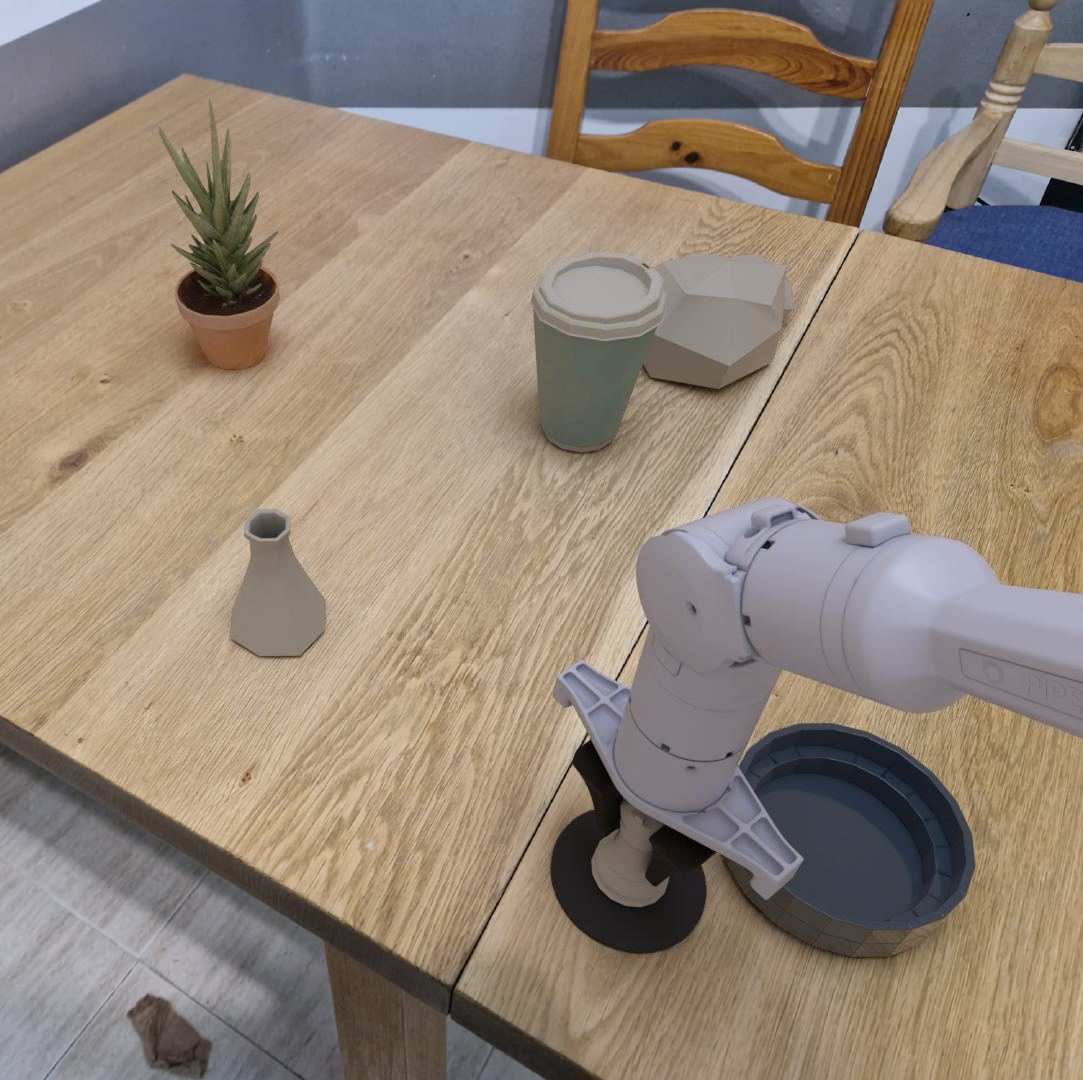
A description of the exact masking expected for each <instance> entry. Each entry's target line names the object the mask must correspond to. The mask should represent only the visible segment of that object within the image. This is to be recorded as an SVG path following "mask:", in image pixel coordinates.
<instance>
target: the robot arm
mask: <svg viewBox="0 0 1083 1080" xmlns="http://www.w3.org/2000/svg"><path fill="white" fill-rule="evenodd" d="M636 558H637V559H636V566H635V579H636V587H637V593H638V597H639V601H640V605H641V607H642V611H643V613H644V616H645V618H646V620H647V622H648V624H649V626H648V629H647V632H646V636H645V639H644V643H643V646H642V650H641V654H640V656H639V660H638V663H637V667H636V670H635V673H634V676H633V680H632V684H631V686H628V685H626V684H623V683H622V682H619V681H617V680H615V679H614V678H611V677H609V676H608V675H606V674H604V673H602V672H601V671H599V670H598V669H596V668H595V667H593V666H592V665H591V664H589V663H588V662H587V661H586V660H585V659H580V660H579V661H578V662H575V663H574V664H572V665H571V666H569V667H568V668H566V669H565V670H563V671H562V672H561V673H559V674H557V675H556V679H555V683H554V688H553V693H552V698H553V699H554V700H555V701H556V702H558V704H560V705H561V707H564V708H570V707H572V706H573V708H574V710H575V712H576V714H577V716H578V717H579V719H580V722H581V723H582V725H583V727H584V729H585V731H586V733H587V735H588V738H589V740H587V741H586V742H584V743H583V744H582V745H580V746H579V747H578V748H577V749H576V750H575V752H574V754H573V758H572V763H571V764H572V766H573V768H574V769H575V770H576V771H577V772H578V774H579V775H580V776H581V778H582V780H583V782H584V784H585V786H586V788H587V791H588V793H589V795H590V799H591V803H592V806H593V810H594V811H595V816H596V822H597V827H598V830H599V831H600V832H601V833H602V834H603V835H604V836H605V837H607V836H609V835H610V834H611V833H612V832H614V831H615V830H616V829H618V828H619V827H620V819H621V810H620V805H621V803H622V800H623V798H625V799H626V800H627V801H628V802H629V803H630V804H631V805H633V806H634V807H635V808H637V809H638V810H640V811H642V812H643V813H645V814H647V815H649V816H650V817H652V818H654V819H656V820H658V821H660V822H662V823H664V824H665V825H664V826H662V827H661V828H660V829H659V830H657V831H656V832H655V833H653V834H652V835H651V836H650V837H649V841H650V843H651V845H652V859H651V862H650V864H649V866H648V868H647V870H646V872H645V878H646V879H647V880H648V882H649V883H650V884H651V885H652V886H654V887H657V886H658V885H659V884H660V883H662V882H663V881H664V880H665V879H666V878H668V877H669V876H670V875H671V874H673V873H675V872H679V873H681V874H687V873H689V872H691V871H693V870H695V869H697V868H698V867H700V866H701V865H703V864H705V863H706V862H707V861H709V860H710V859H711V858H712V857H713V856H715V855H716V853H718V854H719V855H722V856H723V857H724V858H725V857H727V858H729V859H731V860H733V861H735V862H737V863H738V864H740V865H742V866H743V867H745V868H747V869H748V870H750V871H751V872H752V873H753V877H752V879H751V881H750V885H751V886H752V888H753V889H754V890H755V891H756V892H757V893H758V894H760V895H761V896H762V897H763V898H764V899H765V900H768V899H769V898H770V897H771V896H772V895H773V894H775V893H776V892H777V891H778V890H779V889H780V888H782V887H783V886H784V885H785V884H786V883H787V882H788V881H789V880H790V879H792V877H793V876H794V874H795V873H796V871H797V870H798V868H799V866H800V865H801V863H802V862H803V860H804V858H803V857H802V856H801V855H800V854H799V853H798V852H797V851H796V850H795V849H794V848H793V847H792V846H791V845H790V844H789V843H788V842H787V841H786V840H785V838H784V837H783V836H782V835H781V833H780V832H779V830H778V829H777V827H776V826H775V824H774V823H773V821H772V820H771V818H770V817H769V815H768V813H767V812H766V810H765V809H764V807H763V805H762V804H761V802H760V801H759V799H758V797H757V796H756V794H755V793H754V791H753V789H752V788H751V786H750V785H749V783H748V781H747V780H746V778H745V777H744V775H743V773H742V772H741V770H740V769H739V764H740V762H741V760H742V757H743V754H744V752H745V751H746V748H747V746H748V744H749V741H750V740H751V737H752V735H753V733H754V731H755V729H756V726H757V724H758V722H759V720H760V718H761V716H762V714H763V712H764V710H765V708H766V706H767V703H768V701H769V699H770V697H771V695H772V693H773V691H774V688H775V687H776V684H777V683H778V680H779V678H780V676H781V673H782V672H783V671H786V672H788V673H792V674H795V675H798V676H800V677H804V678H806V679H809V680H812V681H815V682H818V683H820V684H823V685H827V686H829V687H833V688H834V689H838V690H841V691H844V692H847V693H849V694H852V695H855V696H859V697H860V698H863V699H866V700H869V701H872V702H875V703H877V704H881V705H884V706H885V707H886V706H887V707H890V708H892V709H894V710H898V711H901V712H906V713H909V714H928V713H929V714H930V713H933V712H938V711H942V710H943V709H946V708H949V707H951V706H953V705H955V704H956V703H958V702H959V701H961V700H963V699H964V698H965V697H966V696H968V695H969V696H972V697H974V698H976V699H978V700H981V701H984V702H987V703H989V704H991V705H994V706H997V707H998V708H999V707H1000V708H1002V709H1005V710H1007V711H1010V712H1012V713H1014V714H1017V715H1019V716H1023V717H1025V718H1027V719H1030V720H1033V721H1036V722H1038V723H1041V724H1043V725H1045V726H1047V727H1051V728H1053V729H1056V730H1059V731H1061V732H1064V733H1067V734H1069V735H1071V736H1074V737H1076V738H1079V739H1082V740H1083V593H1076V592H1069V591H1068V592H1067V591H1058V590H1052V589H1043V588H1035V587H1027V586H1018V585H1010V584H1001V582H1000V580H999V578H998V576H997V574H996V573H995V571H994V569H993V568H992V567H991V565H990V564H989V563H988V562H987V560H986V559H985V558H984V557H983V556H982V555H981V553H979V552H978V551H977V550H976V549H974V548H973V547H971V546H969V545H968V544H966V543H965V542H962V541H960V540H956V539H952V538H948V537H943V536H936V535H926V534H922V533H921V534H920V533H913V532H911V525H910V519H909V517H908V516H907V515H905V514H899V513H891V512H884V511H878V512H875V513H872V514H869V515H866V516H864V517H861V518H858V519H855V520H852V521H850V522H848V523H844V522H843V523H842V522H837V521H830V520H829V521H828V520H823V519H822V518H820V517H819V515H818V514H817V513H816V512H814V511H812V510H811V509H809V508H807V507H805V506H803V505H802V504H798V503H793V502H792V501H789V500H787V499H784V498H781V497H777V496H766V497H761V498H758V499H754V500H751V501H749V502H746V503H744V504H740V505H737V506H734V507H732V508H728V509H725V510H722V511H719V512H716V513H714V514H710V515H707V516H705V517H702V518H699V519H695V520H694V521H690V522H687V523H684V524H681V525H677V526H675V527H673V528H669V529H667V530H664V531H663V532H662V533H660V535H655V536H651V537H649V538H648V539H647V540H646V541H645V542H644V543H643V544H642V546H641V548H640V550H639V552H638V555H637V557H636Z"/></svg>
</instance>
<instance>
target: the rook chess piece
mask: <svg viewBox="0 0 1083 1080" xmlns="http://www.w3.org/2000/svg"><path fill="white" fill-rule="evenodd" d="M620 810H621V819H620V829H618V830H615V831H614V832H612V833H611V834H610V835H609V836H607V837H604V838H603V839H602V840H601V841H600V842H599V844H598V847H597V848H596V850H595V853H594V855H593V858H592V860H591V861H592V874H593V876H594V878H595V881H596V883H597V885H598V887H599V888H600V889H601V890H602V891H603V892H604V893H605V894H606V895H607V896H608V897H609V898H610V899H612V900H614V901H616V902H618V903H620V904H623V905H625V906H634V907H643V906H646V905H649V904H652V903H655V902H656V901H657V900H658V899H659V898H660V897H661V896H662V895H663V894H664V893H665V890H666V887H667V884H668V881H669V877H668V878H666V879H665V880H664V881H663V882H662V883H660V884H659V885H658V886H657V887H654V886H652V885H651V884H650V883H649V882H648V880H647V879H646V878H645V872H646V870H647V868H648V866H649V864H650V862H651V859H652V845H651V843H650V841H649V837H650V836H651V835H652V834H653V833H655V832H656V831H657V830H659V829H660V828H661V827H662V826H664V825H665V824H664V823H662V822H660V821H658V820H656V819H654V818H652V817H650V816H649V815H647V814H645V813H643V812H642V811H640V810H638V809H637V808H635V807H634V806H633V805H631V804H630V803H629V802H628V801H627V800H626V799H625V798H623V800H622V803H621V805H620Z"/></svg>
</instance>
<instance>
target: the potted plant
mask: <svg viewBox="0 0 1083 1080" xmlns="http://www.w3.org/2000/svg"><path fill="white" fill-rule="evenodd" d="M208 113H209V128H210V142H211V145H210V146H211V164H212V177H211V171H210V166H209V163H208V161H207V160H205V163H206V179H207V187H208V191H207V189H206V188H205V186H204V184H203V182H202V180H201V178H200V176H199V174H198V172H197V171H196V168H195V167H194V166H193V164H192V162H191V160H190V158H189V156H188V154H187V153H186V151H185V148H184V147H183V146H181V147H180V150H181V154H182V158H181V156H180V154H179V153H178V152H177V151H176V149H175V148H174V146H173V145H172V143H171V142H170V141H169V139H168V138H167V136H166V134H165V133H164V131H163V129H162V128H161V127H160V126H159V125H158V124H157V125H156V126H157V130H158V134H159V137H160V139H161V141H162V143H163V145H164V147H165V150H166V152H167V153H168V155H169V157H170V158H171V160H172V163H173V165H174V166H175V168H176V170H177V172H178V173H179V175H180V176H181V178H182V180H183V182H184V183H185V184H186V186H187V187H188V189H189V191H190V192H191V194H192V195H193V197H194V198H195V200H196V202H197V203H198V206H199V208H200V210H201V212H199V213H197V211H195V209H194V207H193V205H192V202H191V201H190V199H189V198H188V196H187V195H186V194H185V195H184V198H185V201H186V202H185V201H184V200H183V199H182V198H181V197H180V196H179V195H178V194H177V192H175V191H174V190H173V189H171V194H172V196H173V198H174V200H175V201H176V203H177V205H178V206H179V207H180V209H181V211H182V212H183V214H184V216H186V218H187V219H188V221H189V222H190V224H191V225H192V226H193V228H194V230H195V231H196V233H198V235H199V237H200V238H201V240H202V242H203V243H202V242H201V241H200V240H199V239H198V238H197V237H196V236H195V235H194V234H190V236H191V238H192V240H193V241H194V243H195V245H194V244H190V243H189V244H188V248H189V249H190V250H191V252H188V251H186V250H184V249H182V248H181V247H179V246H177V245H175V244H173V243H171V244H170V247H172V248H173V249H174V250H175V251H176V252H177V253H178V254H180V255H181V256H183V257H184V258H185V259H187V260H189V264H190V266H191V268H193V269H192V270H190V271H188V272H187V273H185V274H184V275H183V276H181V278H179V280H178V282H177V283H176V285H175V288H174V289H175V290H174V298H175V301H176V306H177V309H178V312H179V315H180V316H181V317H182V318H183V320H184V321H186V322H188V325H189V327H190V329H191V330H192V332H193V334H194V336H195V338H196V341H197V342H198V345H199V346H200V348H201V350H202V352H203V353H204V356H205V358H206V360H207V361H208V362H209V363H210V364H211V365H212V366H214V367H217V368H220V369H224V370H245V369H248V368H251V367H254V366H255V365H258V364H259V363H260V362H261V361H263V359H264V357H265V356H266V351H267V346H268V342H269V337H270V331H271V327H272V323H273V319H274V314H275V313H274V312H275V311H276V310H277V308H278V305H279V302H280V298H281V296H280V285H279V281H278V279H277V276H276V275H275V273H273V271H271V269H269V268H267V267H265V266H263V265H264V264H263V263H264V260H263V259H264V257H265V256H266V254H267V252H268V250H269V249H270V248H271V245H272V244H271V242H272V241H273V239H274V238H276V237H277V235H278V233H279V230H276V231H275V232H274V233H272V234H271V235H270V236H269V237H267V238H266V239H265V240H263V241H262V242H261V243H260V244H258V245H257V246H255V248H253V249H252V250H250V251H249V252H248V253H247V251H248V250H249V248H250V246H251V244H252V241H253V236H252V235H251V233H252V232H253V230H254V227H255V225H256V223H257V220H258V215H257V214H256V213H255V211H256V209H257V208H256V207H257V204H258V203H259V198H260V191H257V192H256V193H255V194H254V196H253V197H252V199H251V200H250V201H249V203H248V204H247V200H248V195H249V191H250V186H251V181H252V180H251V179H252V177H251V176H252V174H251V171H249V172H248V173H247V174H246V176H245V179H244V182H243V183H242V186H241V188H240V189H239V192H238V193H237V194H236V196H235V198H234V199H231V182H232V181H231V180H232V144H231V143H232V142H231V141H232V139H231V132H230V128H227V129H226V133H225V138H224V145H223V151H222V158H220V149H219V137H218V129H217V124H216V118H215V114H214V107H213V104H212V100H211V98H209V99H208ZM182 159H183V160H182ZM246 205H247V206H246ZM250 235H251V236H250ZM190 261H191V262H190Z"/></svg>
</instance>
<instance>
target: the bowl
mask: <svg viewBox="0 0 1083 1080" xmlns="http://www.w3.org/2000/svg"><path fill="white" fill-rule="evenodd" d="M742 757H743V758H741V760H740V762H739V764H738V767H739V769H740V770H741V772H742V773H743V775H744V777H745V778H746V780H747V781H748V783H749V785H750V786H751V788H752V789H753V791H754V793H755V794H756V796H757V797H758V799H759V801H760V802H761V804H762V805H763V807H764V809H765V810H766V812H767V813H768V815H769V817H770V818H771V820H772V821H773V823H774V824H775V826H776V827H777V829H778V830H779V832H780V833H781V835H782V836H783V837H784V838H785V840H786V841H787V842H788V843H789V844H790V845H791V846H792V847H793V848H794V849H795V850H796V851H797V852H798V853H799V854H800V855H801V856H802V857H803V858H804V860H803V862H802V863H801V865H800V866H799V868H798V870H797V871H796V873H795V874H794V876H793V877H792V879H790V880H789V881H788V882H787V883H786V884H785V885H784V886H783V887H782V888H780V889H779V890H778V891H777V892H776V893H775V894H773V895H772V896H771V897H770V898H769V899H768V900H765V899H764V898H763V897H762V896H761V895H760V894H758V893H757V892H756V891H755V890H754V889H753V888H752V886H751V885H750V881H751V879H752V877H753V873H752V872H751V871H750V870H748V869H747V868H745V867H743V866H742V865H740V864H738V863H737V862H735V861H733V860H731V859H729V858H727V857H725V856H724V858H725V863H726V864H727V865H726V866H727V867H728V869H729V871H730V872H731V874H732V875H733V877H734V878H735V880H736V882H737V884H738V885H739V887H740V889H741V890H742V891H743V894H744V895H745V896H746V897H747V898H748V900H750V901H751V902H752V903H753V904H754V906H756V907H757V908H758V909H759V910H760V911H761V912H762V913H763V914H764V915H765V916H766V917H767V918H769V920H770V921H771V922H773V924H776V926H777V927H779V928H781V929H782V930H785V931H787V932H788V933H790V934H792V935H793V936H794V937H796V938H798V939H800V940H802V941H803V942H804V943H806V944H809V945H811V946H813V947H816V948H819V949H823V950H826V951H828V952H829V951H830V952H833V953H836V954H840V955H843V956H847V957H851V958H860V957H861V958H871V957H872V958H879V957H880V958H881V957H882V958H885V957H886V958H887V957H891V956H894V955H896V954H899V953H901V952H904V951H908V950H910V949H913V948H915V947H918V946H920V945H921V944H923V942H925V940H926V939H927V938H928V937H929V936H930V935H931V934H932V933H933V932H934V931H935V930H936V929H937V928H938V927H939V926H940V925H941V924H942V923H943V922H944V921H945V920H946V918H948V917H949V916H950V914H951V913H952V912H954V910H956V908H957V907H958V906H959V905H960V904H961V902H963V901H964V899H966V897H967V895H968V892H969V889H970V886H971V884H972V879H973V877H974V873H975V871H976V865H977V864H976V856H975V846H974V838H973V836H974V835H973V833H972V831H971V829H970V826H969V824H968V822H967V820H966V818H965V816H964V813H963V811H962V809H961V806H960V805H959V803H958V800H957V799H956V798H955V797H954V796H953V794H952V793H951V792H950V791H949V790H948V789H947V787H946V786H945V785H944V783H943V782H942V781H941V780H940V778H938V776H937V775H936V774H935V772H933V771H932V770H930V769H929V768H928V766H926V765H924V764H923V763H922V762H920V761H919V760H918V759H916V757H914V756H913V755H912V754H910V753H909V752H908V751H906V750H905V749H904V748H902V747H901V746H899V745H896V744H895V743H892V742H890V741H888V740H886V739H884V738H882V737H881V736H878V735H875V734H874V733H872V732H869V731H867V730H862V729H858V728H854V727H850V726H847V725H843V724H838V723H833V722H799V723H795V724H792V725H789V726H786V727H782V728H779V729H775V730H773V731H770V732H768V733H767V734H765V735H764V736H763V737H762V738H761V739H759V740H758V741H756V742H755V743H754V744H752V745H751V746H750V747H749V748H748V749H747V750H746V752H745V754H744V756H742Z"/></svg>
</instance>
